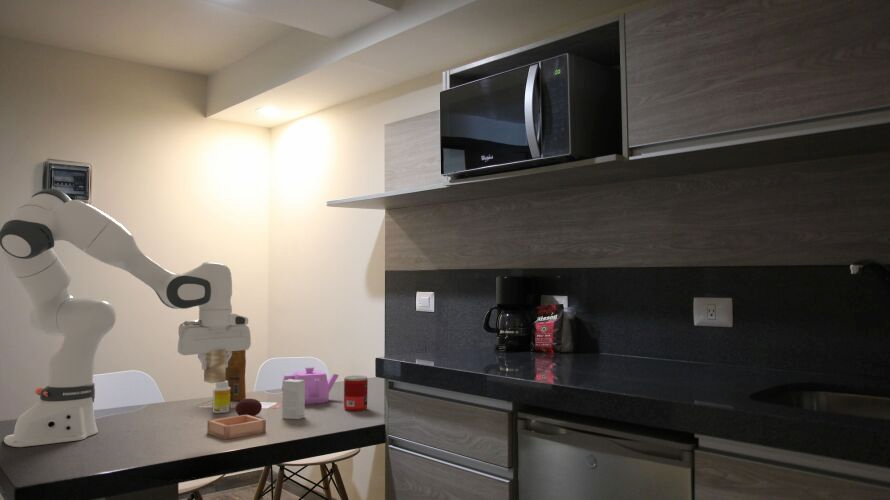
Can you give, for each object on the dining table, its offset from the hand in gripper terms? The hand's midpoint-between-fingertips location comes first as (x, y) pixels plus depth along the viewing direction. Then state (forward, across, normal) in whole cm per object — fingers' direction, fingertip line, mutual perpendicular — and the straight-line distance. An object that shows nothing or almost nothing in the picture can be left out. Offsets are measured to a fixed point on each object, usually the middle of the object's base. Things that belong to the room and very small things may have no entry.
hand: (214, 368), depth 183 cm
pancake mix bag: (+20, +31, +53) cm, 64 cm away
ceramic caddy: (+19, +7, +1) cm, 21 cm away
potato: (+20, +20, +18) cm, 34 cm away
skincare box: (+20, +30, +8) cm, 37 cm away
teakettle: (+20, +50, +29) cm, 62 cm away
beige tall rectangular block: (+4, 0, 0) cm, 4 cm away
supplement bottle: (+20, +17, +32) cm, 42 cm away
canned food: (+20, +53, +5) cm, 57 cm away
